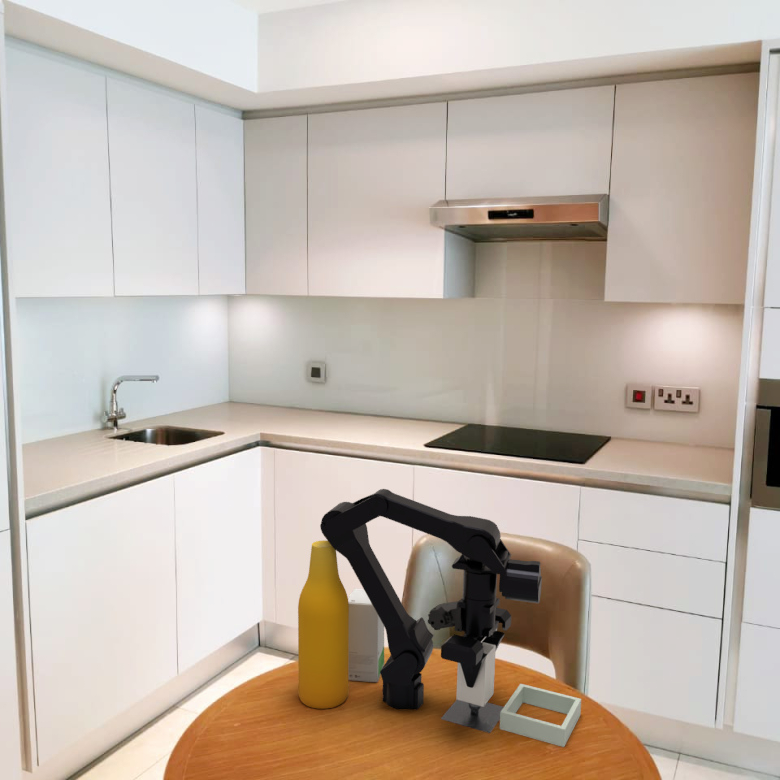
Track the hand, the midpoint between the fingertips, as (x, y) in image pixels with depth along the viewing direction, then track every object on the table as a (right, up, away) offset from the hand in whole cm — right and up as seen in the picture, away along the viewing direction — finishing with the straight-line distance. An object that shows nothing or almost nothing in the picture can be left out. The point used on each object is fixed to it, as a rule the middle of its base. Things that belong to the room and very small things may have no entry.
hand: (475, 680), depth 137 cm
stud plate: (0, -7, +1) cm, 7 cm away
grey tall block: (0, -3, 0) cm, 3 cm away
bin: (+11, -8, -1) cm, 13 cm away
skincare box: (-20, -5, +17) cm, 27 cm away
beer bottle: (-27, -6, +7) cm, 29 cm away
